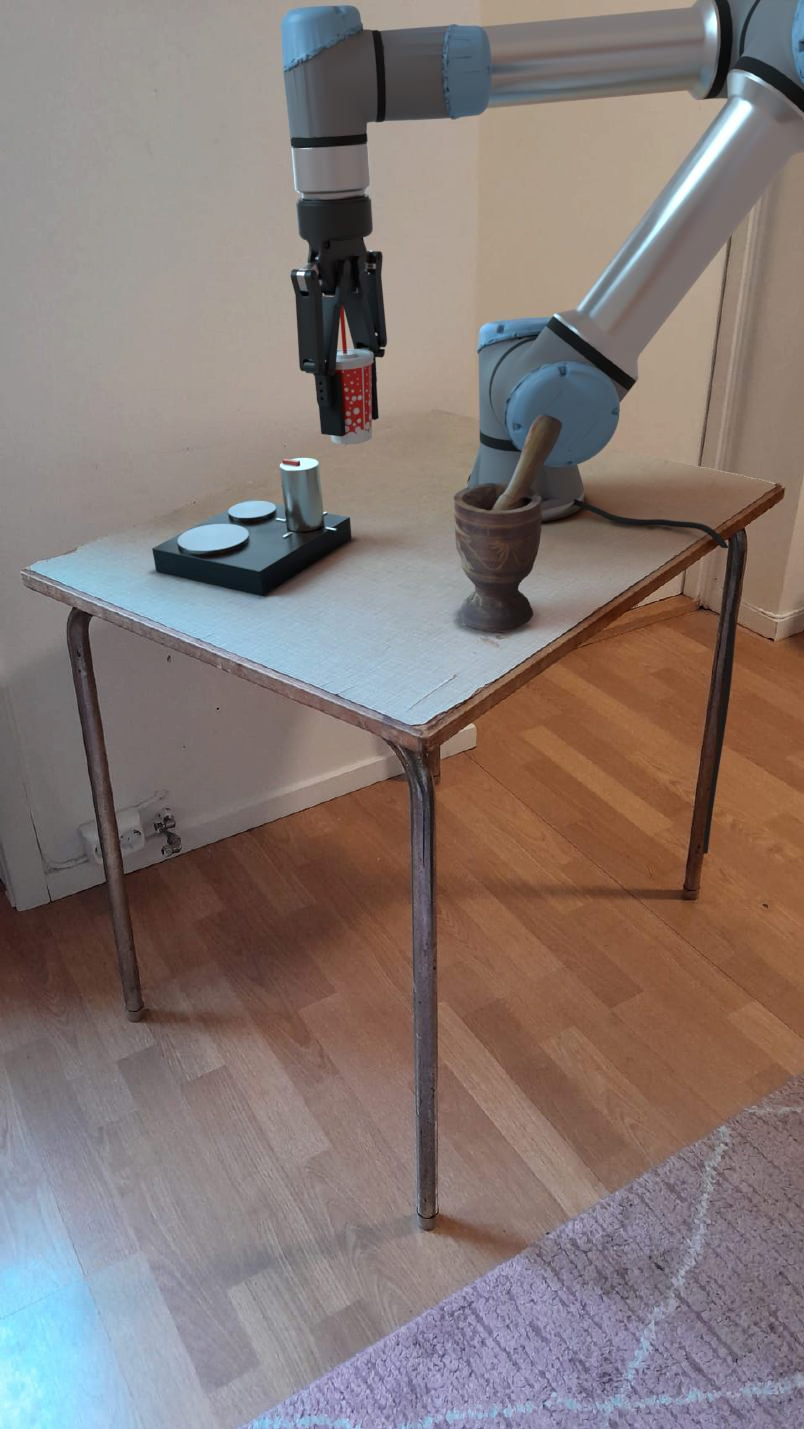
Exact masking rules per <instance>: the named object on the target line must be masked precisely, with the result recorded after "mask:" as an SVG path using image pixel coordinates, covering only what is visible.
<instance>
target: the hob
mask: <svg viewBox="0 0 804 1429" xmlns="http://www.w3.org/2000/svg"><path fill="white" fill-rule="evenodd" d="M249 501H255V499H254V500H253V499H249V498H248V499H245V500H243V501H241V502H240V503H243V502H249ZM273 504H274V505H275V506H276V510H277V511H276V514H275V515H274V516H272V517H271V518H268V519H265V520H262V521H257V522H237V521H234V520H231V519H230V518H229V516H228V510H229V509H230V508H228V509H226V510H224V511H222V512H219V513H218V514H216V515H214V516H212V517H210V518H208V519H206V520H204V521H202V522H201V523H199V524H197V525H195V526H193V527H191V528H189V529H186V530H185V531H183V532H181V533H178V535H175V536H174V537H172V538H169V539H167V540H165V541H164V542H162V543H160V544H158V545H156V546H153V547H152V548H151V550H152V556H153V561H154V566H155V571H156V573H160V574H164V575H168V576H172V577H173V576H174V577H178V578H182V579H186V580H191V581H195V582H200V583H204V584H207V585H208V584H209V585H213V586H218V587H222V588H227V589H229V590H235V591H239V592H243V593H248V594H252V595H255V596H256V595H257V596H261V597H264V596H266V595H267V594H268V593H271V592H272V591H273V590H275V589H277V588H278V587H281V585H283V584H285V583H287V582H288V581H289V580H291V579H292V578H295V577H296V576H297V575H299V574H301V573H302V572H303V571H305V570H306V569H308V568H310V567H312V566H313V565H314V564H316V563H318V562H319V561H321V560H323V559H324V558H326V557H327V556H329V555H330V554H332V553H333V552H335V551H336V550H338V549H340V548H342V547H343V546H344V545H346V544H347V543H349V542H351V541H352V540H353V538H352V524H351V517H350V516H346V515H345V516H344V515H340V514H333V513H328V511H323V512H324V525H323V526H322V527H321V528H319V529H316V530H312V531H305V532H298V531H292V530H290V529H288V528H287V526H286V518H285V509H284V504H283V505H282V504H278V503H273ZM212 524H233V525H238V526H241V527H244V528H245V529H247V530H248V532H249V541H248V543H247V544H245V545H244V546H243V547H241V548H239V549H237V550H234V551H231V552H228V553H223V554H218V555H205V556H202V555H192V554H187V553H185V552H183V551H181V550H180V549H179V548H178V544H177V540H178V538H179V536H180V535H181V534H183V533H184V532H186V531H188V530H191V529H194V528H197V527H200V526H205V525H212Z"/></svg>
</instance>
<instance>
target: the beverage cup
mask: <svg viewBox="0 0 804 1429" xmlns="http://www.w3.org/2000/svg"><path fill="white" fill-rule="evenodd" d="M340 336H341V348H342V349H337V358H336V370H335V373H341V381H342V394H343V407H344V420H345V432H346V435H344V436H342V437H340V436H333V435H330V440H331V442H333V443H334V444H338V445H358V444H362V443H366V442H368V441H370V440H371V439H372V438H373V420H372V363H373V362H374V361H373V357H374V354H373V352H371V351H368V350H363V349H354V348H348V345H347V333H346V316H345V311H344V306H342V307H341V312H340ZM325 362H326V360H325Z"/></svg>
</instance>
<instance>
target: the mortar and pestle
mask: <svg viewBox="0 0 804 1429" xmlns="http://www.w3.org/2000/svg"><path fill="white" fill-rule="evenodd" d="M561 428H562V423H561V422H560V421H559V420H558V419H557V418H555V417H553V416H550V415H548V414H544V413H543V414H540V415H539V416H538V417H537V418H536V419H535V420H534V422H533V424H532V426H531V428H530V430H529V433H528V435H527V438H526V441H525V445H524V447H523V450H522V453H521V456H520V459H519V462H518V464H517V467H516V469H515V472H514V474H513V477H512V479H511V481H510V484H508V483H499V484H497V483H486V484H479V485H474V486H470V487H465V488H463V489H461V490H459V491H457V492H456V493H455V495H453V497H452V499H453V503H454V505H453V507H454V508H453V509H454V522H455V524H454V538H455V540H454V541H455V548H456V551H457V553H458V555H459V557H460V560H461V569H462V571H463V572H464V574H465V576H466V577H467V578H468V579H469V581H470V582H471V583H472V584H473V585H474V591H473V592H472V593H470V594H469V595H468V596H466V597H465V598H464V599H463V602H462V604H461V609H460V619H461V622H462V624H463V626H468V627H471V628H474V629H478V630H483V631H487V632H498V633H499V632H509V631H512V630H516V629H519V628H521V627H522V626H524V625H526V624H527V623H528V622H530V620H531V619H532V618H533V616H534V610H533V608H532V606H531V603H530V601H529V599H528V597H527V596H525V595H524V593H523V592H521V591H520V590H519V586H520V584H521V583H522V582H523V581H524V580H525V579H526V578H528V576H529V575H530V574H531V572H532V571H533V568H534V565H535V562H536V559H537V556H538V553H539V549H540V545H541V544H540V543H541V534H542V522H541V520H542V513H541V504H542V498H541V497H540V494H539V493H538V492H537V491H536V490H534V489H532V488H530V487H531V485H532V483H533V482H534V480H535V478H536V476H537V475H538V472H539V470H540V469H541V467H542V465H543V464H544V462H545V461H546V459H547V458H548V456H549V455H550V453H551V451H552V450H553V448H554V445H555V444H556V442H557V440H558V438H559V435H560V431H561Z"/></svg>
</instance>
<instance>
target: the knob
mask: <svg viewBox="0 0 804 1429" xmlns="http://www.w3.org/2000/svg"><path fill="white" fill-rule="evenodd" d="M281 461H282V462H281V463H280V464H279V473H280V481H281V482H280V483H281V491H282V499H283V506H284V509H285V518H286V526H287V528H288V529H290V530H292V531H298V532H305V531H312V530H316V529H319V528H321V527H322V526H323V525H324V512H325V511H324V505H323V504H324V503H323V493H322V492H323V491H322V482H321V469H320V463H319V461H318V460H317V459H314V458H311V457H297V458H292V459H289V458H283V459H282V460H281Z"/></svg>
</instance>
